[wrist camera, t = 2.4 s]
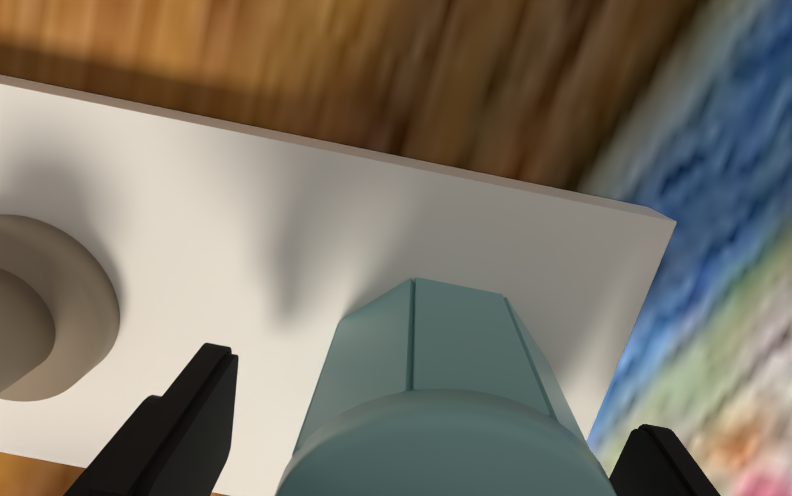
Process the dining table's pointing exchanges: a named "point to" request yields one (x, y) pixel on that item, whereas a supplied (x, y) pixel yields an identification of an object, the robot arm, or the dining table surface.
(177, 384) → the robot arm
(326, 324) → the board
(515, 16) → the dining table surface
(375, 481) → the cap
